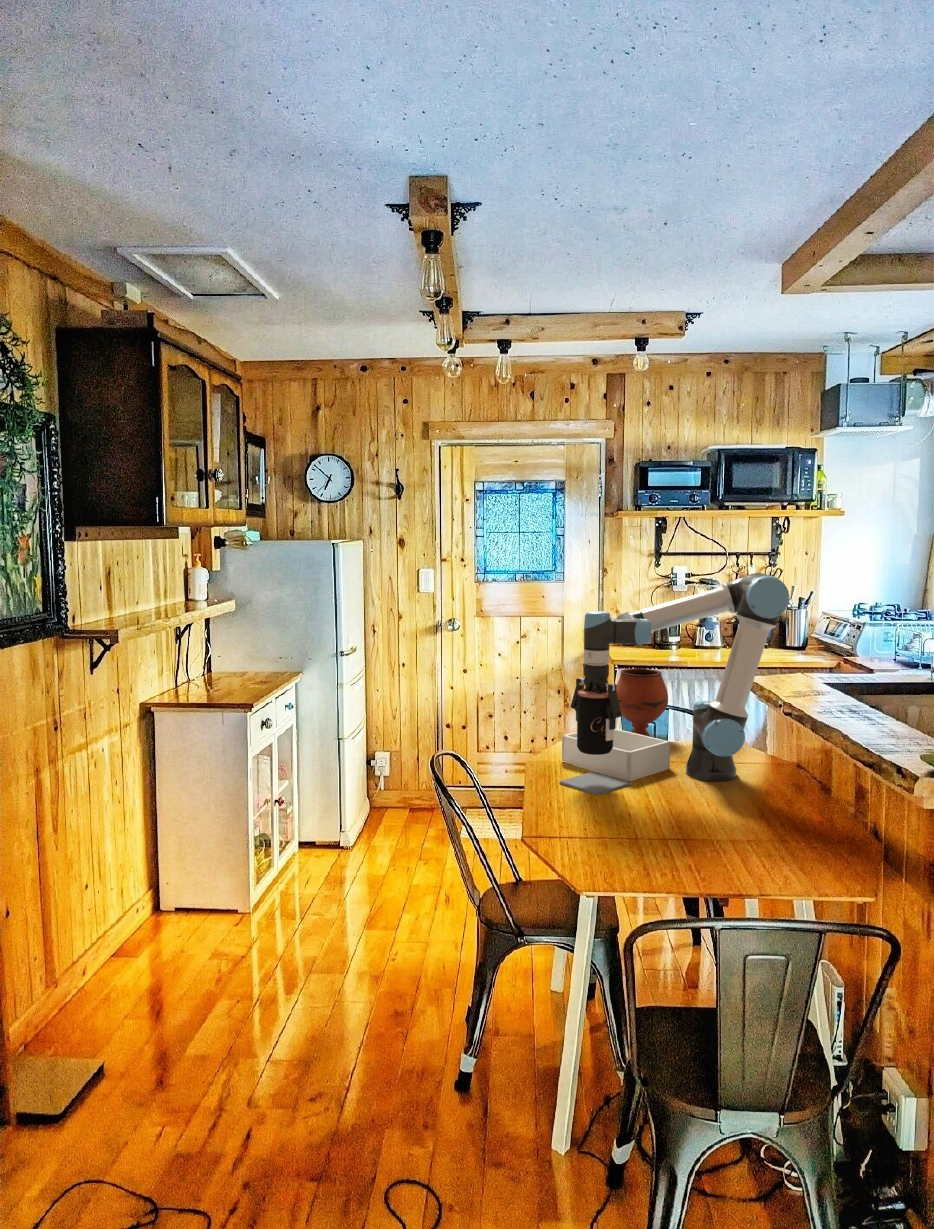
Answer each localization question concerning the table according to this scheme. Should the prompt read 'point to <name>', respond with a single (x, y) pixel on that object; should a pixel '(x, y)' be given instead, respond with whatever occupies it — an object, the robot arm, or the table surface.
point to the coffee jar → (592, 723)
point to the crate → (621, 756)
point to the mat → (595, 783)
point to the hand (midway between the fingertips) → (595, 736)
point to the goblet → (641, 697)
